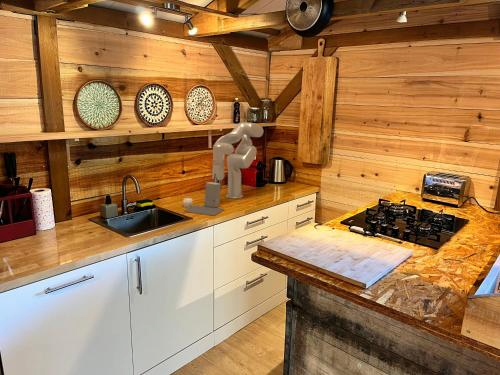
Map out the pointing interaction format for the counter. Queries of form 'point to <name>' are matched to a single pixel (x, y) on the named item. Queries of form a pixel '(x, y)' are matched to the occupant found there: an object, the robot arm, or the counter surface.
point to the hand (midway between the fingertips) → (218, 189)
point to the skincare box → (212, 194)
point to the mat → (204, 210)
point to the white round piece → (187, 202)
